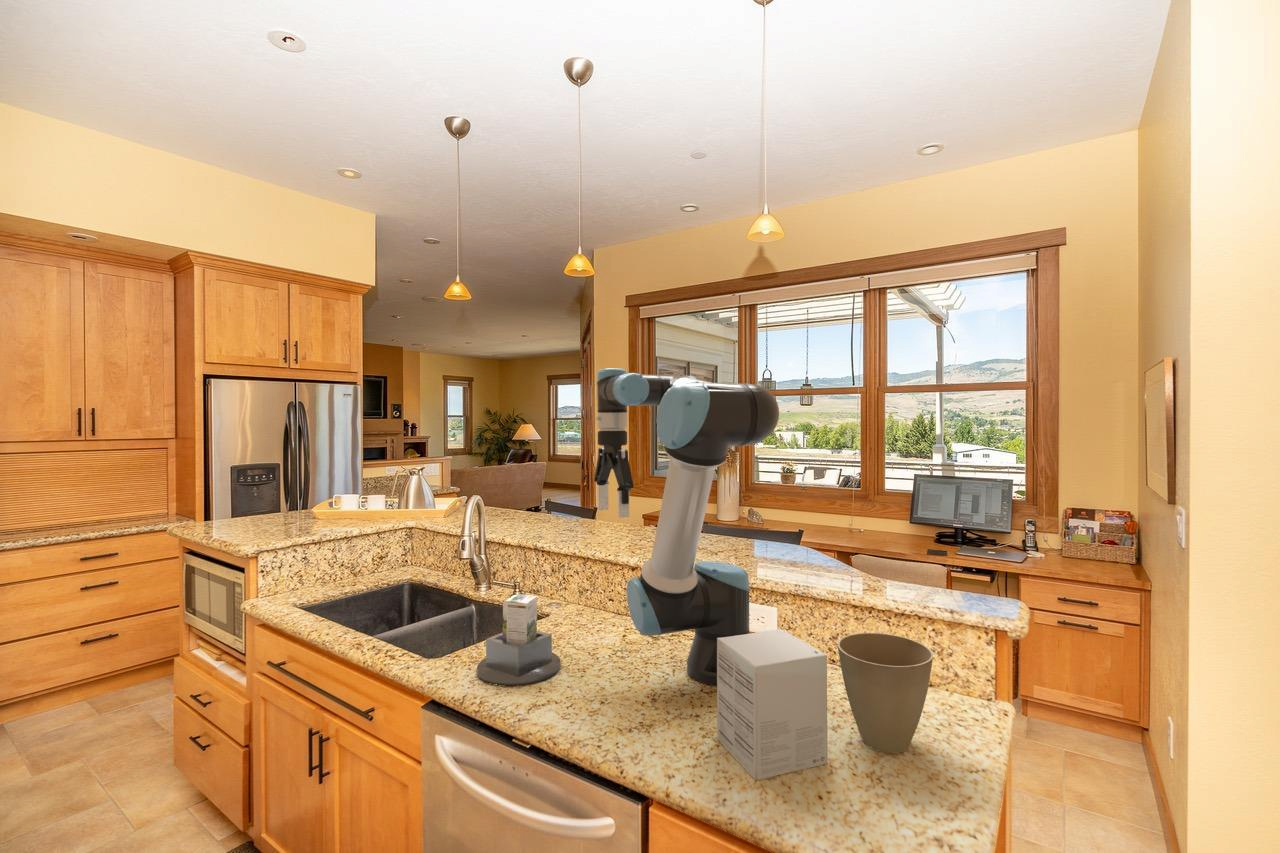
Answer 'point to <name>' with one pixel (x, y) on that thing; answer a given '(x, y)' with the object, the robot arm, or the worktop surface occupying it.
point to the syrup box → (520, 619)
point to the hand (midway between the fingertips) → (612, 513)
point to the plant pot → (885, 686)
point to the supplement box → (772, 702)
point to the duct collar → (518, 661)
